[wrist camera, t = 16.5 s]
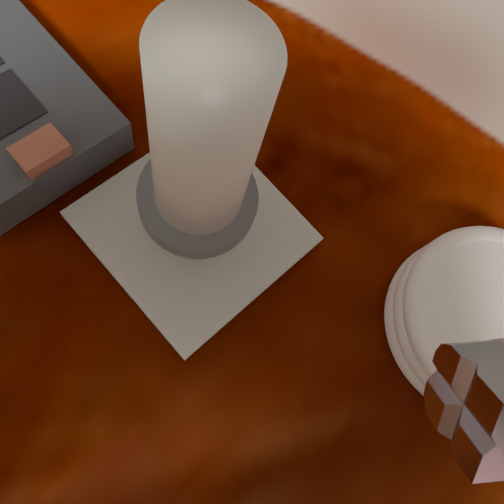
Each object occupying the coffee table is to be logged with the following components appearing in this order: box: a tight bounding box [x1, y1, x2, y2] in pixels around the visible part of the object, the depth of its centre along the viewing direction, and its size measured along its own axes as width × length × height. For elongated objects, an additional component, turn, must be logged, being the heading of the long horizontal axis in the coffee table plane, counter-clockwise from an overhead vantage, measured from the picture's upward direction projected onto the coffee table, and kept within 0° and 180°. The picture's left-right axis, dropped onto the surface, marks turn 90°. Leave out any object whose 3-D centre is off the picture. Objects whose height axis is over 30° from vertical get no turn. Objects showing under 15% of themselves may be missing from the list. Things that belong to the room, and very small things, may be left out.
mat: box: [60, 152, 323, 361], centre depth 25 cm, size 10×10×1 cm
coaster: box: [384, 226, 504, 396], centre depth 24 cm, size 10×10×4 cm
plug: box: [136, 0, 288, 260], centre depth 18 cm, size 6×6×13 cm
